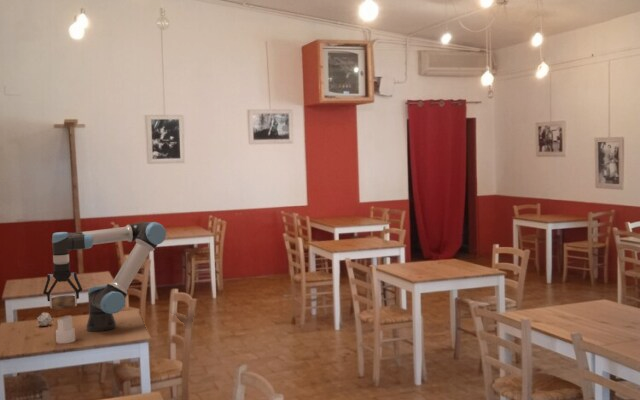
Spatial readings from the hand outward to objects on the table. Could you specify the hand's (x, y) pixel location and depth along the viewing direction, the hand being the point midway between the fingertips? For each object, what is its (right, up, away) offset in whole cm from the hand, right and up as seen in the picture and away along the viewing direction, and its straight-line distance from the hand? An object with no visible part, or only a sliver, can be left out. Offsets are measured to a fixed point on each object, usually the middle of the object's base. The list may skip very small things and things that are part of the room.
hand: (63, 306), depth 339 cm
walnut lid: (0, 0, 0) cm, 0 cm away
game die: (-24, -17, +36) cm, 47 cm away
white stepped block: (+1, -18, +1) cm, 18 cm away
